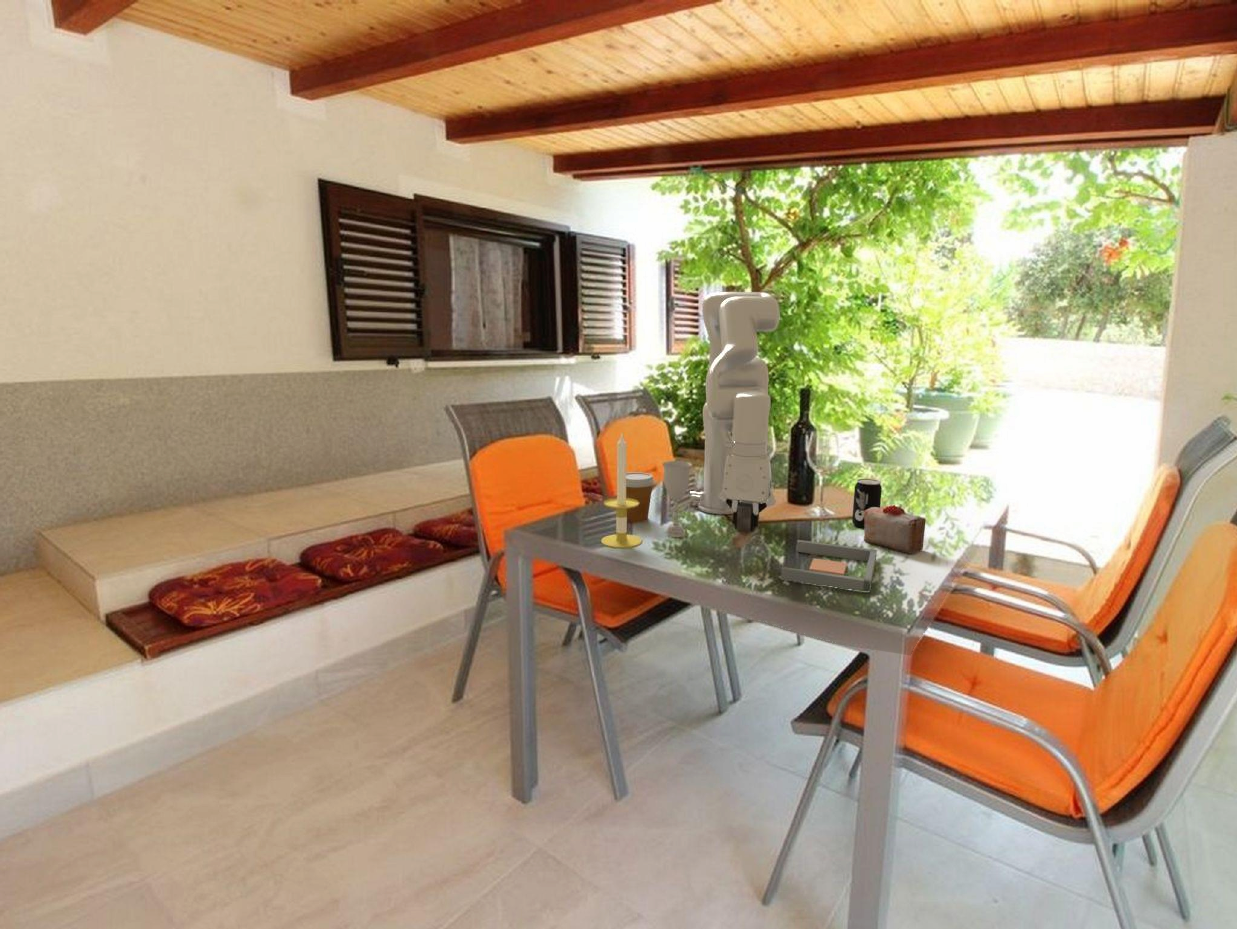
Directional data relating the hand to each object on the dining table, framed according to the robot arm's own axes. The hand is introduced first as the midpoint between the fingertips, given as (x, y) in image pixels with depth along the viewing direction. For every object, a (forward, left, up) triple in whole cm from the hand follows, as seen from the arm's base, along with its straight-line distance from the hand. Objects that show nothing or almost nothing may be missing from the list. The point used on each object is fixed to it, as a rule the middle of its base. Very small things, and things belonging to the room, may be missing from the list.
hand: (745, 528), depth 151 cm
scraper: (0, 0, -2) cm, 2 cm away
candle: (-30, -2, -7) cm, 31 cm away
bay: (+18, -1, -7) cm, 20 cm away
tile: (+18, -1, -7) cm, 20 cm away
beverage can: (+23, +36, -7) cm, 44 cm away
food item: (+30, +22, -7) cm, 38 cm away
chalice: (-20, +9, -7) cm, 23 cm away
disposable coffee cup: (-34, +17, -7) cm, 38 cm away
